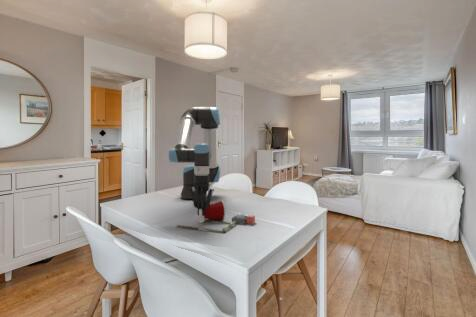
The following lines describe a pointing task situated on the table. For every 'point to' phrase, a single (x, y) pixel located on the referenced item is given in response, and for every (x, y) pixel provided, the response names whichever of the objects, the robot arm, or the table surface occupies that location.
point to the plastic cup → (215, 211)
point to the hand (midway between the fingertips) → (201, 221)
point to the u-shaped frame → (212, 229)
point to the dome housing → (245, 220)
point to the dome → (240, 215)
